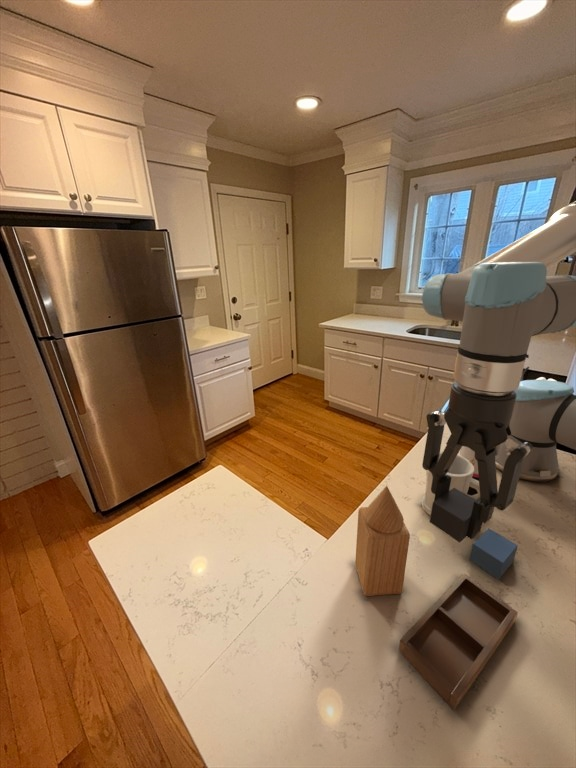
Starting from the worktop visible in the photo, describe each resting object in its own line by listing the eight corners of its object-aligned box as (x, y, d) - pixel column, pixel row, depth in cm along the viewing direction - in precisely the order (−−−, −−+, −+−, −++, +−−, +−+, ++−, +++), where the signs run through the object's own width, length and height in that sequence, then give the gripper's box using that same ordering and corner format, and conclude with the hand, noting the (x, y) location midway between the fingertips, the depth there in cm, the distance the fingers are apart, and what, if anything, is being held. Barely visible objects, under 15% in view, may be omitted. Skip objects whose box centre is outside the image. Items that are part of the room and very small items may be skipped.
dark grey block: (450, 506, 54) (453, 487, 53) (480, 524, 50) (485, 504, 49) (429, 522, 51) (432, 502, 50) (459, 542, 47) (464, 521, 46)
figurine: (549, 374, 132) (531, 374, 132) (565, 383, 125) (546, 383, 125) (544, 385, 135) (526, 385, 134) (559, 395, 128) (541, 395, 127)
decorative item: (364, 598, 53) (371, 501, 46) (354, 562, 59) (359, 473, 52) (403, 595, 53) (417, 498, 46) (389, 560, 59) (399, 470, 52)
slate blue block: (484, 543, 62) (488, 527, 61) (513, 561, 58) (518, 545, 57) (468, 559, 59) (472, 543, 58) (498, 579, 55) (503, 563, 54)
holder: (461, 581, 55) (463, 572, 54) (515, 621, 49) (518, 611, 48) (398, 649, 46) (399, 640, 45) (454, 710, 40) (457, 700, 39)
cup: (459, 494, 75) (468, 450, 71) (481, 523, 67) (492, 476, 62) (414, 495, 75) (420, 451, 71) (431, 525, 67) (438, 477, 63)
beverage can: (462, 500, 73) (473, 443, 68) (448, 481, 80) (458, 428, 74) (490, 499, 73) (504, 443, 68) (475, 481, 79) (487, 428, 74)
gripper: (407, 374, 48) (393, 499, 56) (554, 418, 34) (506, 577, 42) (437, 364, 51) (419, 483, 60) (579, 400, 37) (530, 549, 46)
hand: (455, 521), depth 51 cm, fingers closed on dark grey block, 5 cm apart
